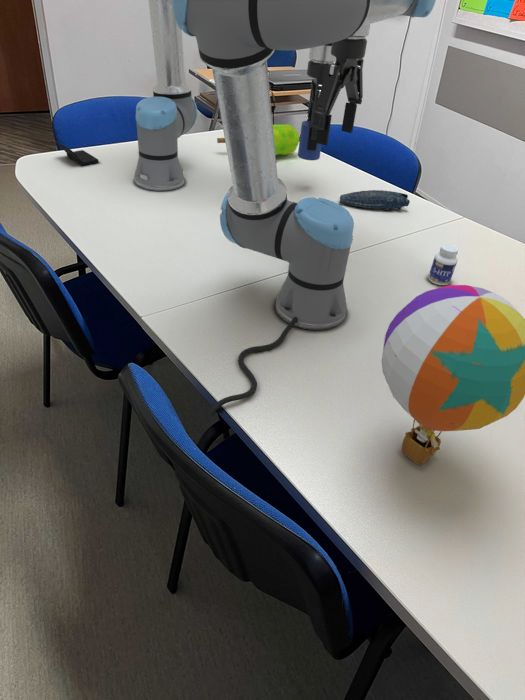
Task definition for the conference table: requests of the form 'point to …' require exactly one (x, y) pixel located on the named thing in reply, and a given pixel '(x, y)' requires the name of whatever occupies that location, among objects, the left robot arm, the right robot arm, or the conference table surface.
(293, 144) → the decorative tree
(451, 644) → the conference table surface
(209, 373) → the conference table surface
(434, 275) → the pill bottle
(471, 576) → the conference table surface
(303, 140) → the can
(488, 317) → the toy
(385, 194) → the fish model
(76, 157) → the black handled block
